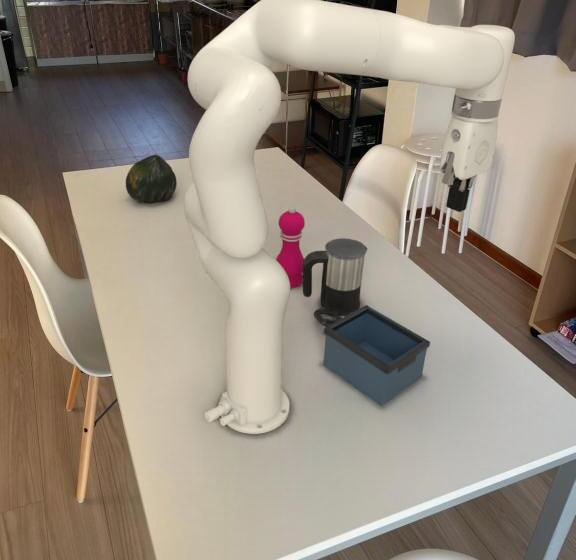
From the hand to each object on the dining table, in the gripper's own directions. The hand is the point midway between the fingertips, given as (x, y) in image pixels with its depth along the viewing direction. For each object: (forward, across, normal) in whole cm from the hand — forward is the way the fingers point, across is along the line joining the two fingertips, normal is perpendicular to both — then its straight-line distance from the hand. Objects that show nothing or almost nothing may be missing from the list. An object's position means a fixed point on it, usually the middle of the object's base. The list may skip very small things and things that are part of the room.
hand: (455, 208), depth 105 cm
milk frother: (+31, -7, +20) cm, 38 cm away
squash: (+31, -6, +100) cm, 105 cm away
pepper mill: (+31, -6, +37) cm, 49 cm away
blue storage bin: (+27, -10, +2) cm, 28 cm away
